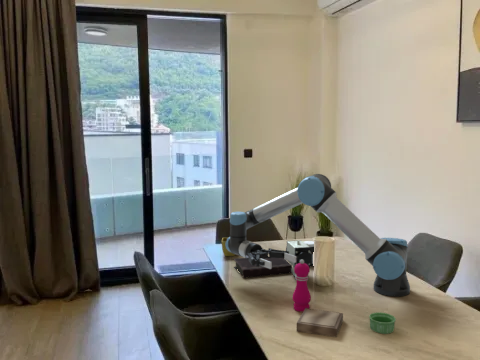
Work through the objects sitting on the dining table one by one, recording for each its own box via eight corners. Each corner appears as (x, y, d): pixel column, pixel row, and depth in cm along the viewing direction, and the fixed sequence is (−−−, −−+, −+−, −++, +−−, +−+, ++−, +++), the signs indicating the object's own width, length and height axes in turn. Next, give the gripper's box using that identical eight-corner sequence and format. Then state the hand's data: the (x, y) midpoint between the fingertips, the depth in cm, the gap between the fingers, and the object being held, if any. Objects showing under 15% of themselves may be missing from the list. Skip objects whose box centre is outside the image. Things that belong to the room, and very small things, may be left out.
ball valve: (314, 282, 214) (314, 244, 211) (296, 283, 212) (296, 245, 210) (301, 270, 231) (302, 235, 229) (285, 271, 230) (285, 236, 227)
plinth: (342, 320, 172) (343, 312, 172) (336, 337, 159) (336, 328, 159) (305, 315, 177) (305, 307, 177) (296, 330, 164) (296, 322, 164)
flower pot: (237, 257, 254) (237, 241, 253) (221, 257, 255) (221, 241, 254) (237, 253, 263) (237, 237, 262) (222, 253, 263) (222, 237, 262)
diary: (292, 275, 227) (292, 265, 226) (243, 279, 220) (243, 269, 220) (279, 263, 245) (279, 254, 244) (233, 267, 238) (232, 258, 237)
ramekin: (380, 336, 159) (380, 324, 159) (363, 326, 168) (363, 314, 167) (400, 332, 163) (401, 320, 162) (383, 322, 171) (383, 310, 171)
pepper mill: (306, 313, 179) (306, 263, 176) (289, 309, 183) (289, 260, 180) (313, 307, 185) (314, 258, 182) (297, 303, 189) (297, 255, 186)
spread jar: (298, 262, 245) (298, 240, 244) (318, 260, 247) (319, 239, 246) (306, 269, 233) (306, 246, 232) (327, 267, 236) (328, 245, 234)
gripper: (272, 254, 215) (305, 265, 198) (228, 264, 200) (259, 277, 183) (272, 238, 214) (305, 248, 197) (228, 247, 199) (259, 258, 182)
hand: (283, 262), depth 190 cm, fingers open, 13 cm apart
